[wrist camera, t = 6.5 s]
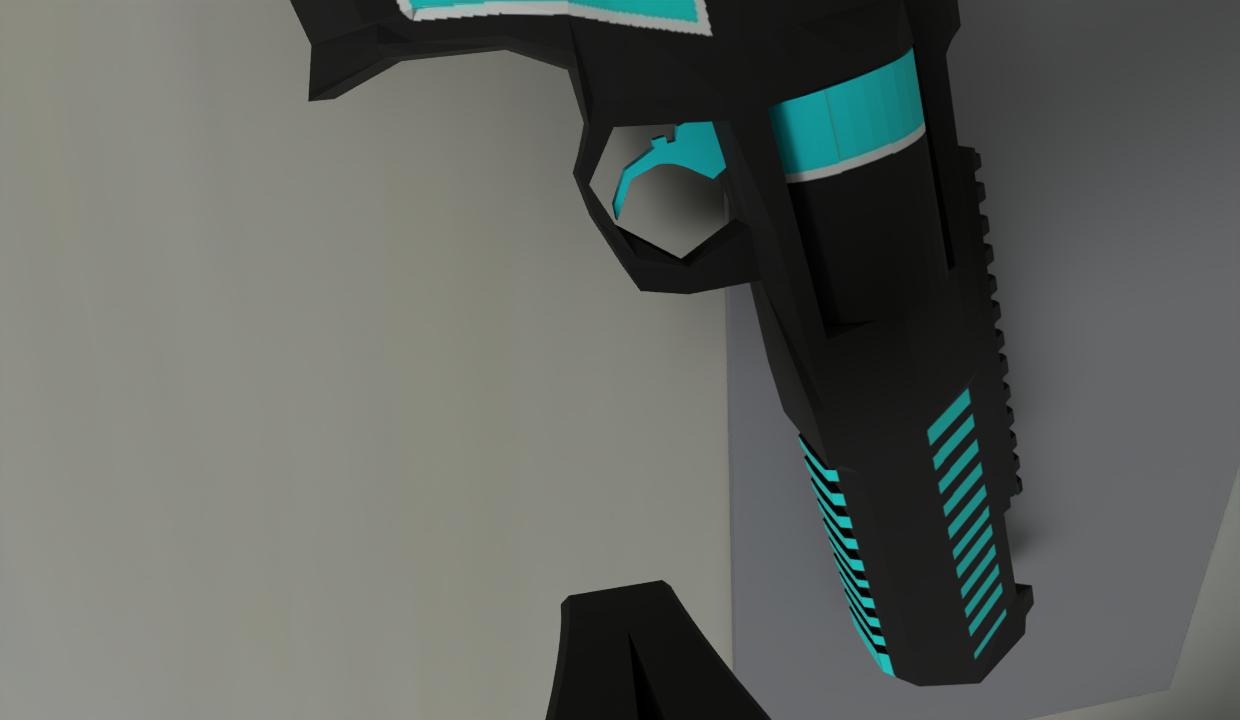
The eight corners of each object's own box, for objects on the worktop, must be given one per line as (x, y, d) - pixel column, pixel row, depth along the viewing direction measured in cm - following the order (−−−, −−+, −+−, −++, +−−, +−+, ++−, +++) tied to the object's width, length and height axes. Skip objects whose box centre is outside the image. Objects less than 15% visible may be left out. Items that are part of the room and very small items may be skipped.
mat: (1160, 681, 21) (1168, 689, 21) (735, 771, 20) (738, 781, 19) (1458, -294, 12) (1480, -303, 12) (714, -279, 11) (720, -289, 10)
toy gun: (674, 815, 16) (1081, 659, 15) (122, -214, 7) (964, -563, 7) (651, 705, 18) (997, 572, 18) (228, -136, 10) (844, -389, 10)
